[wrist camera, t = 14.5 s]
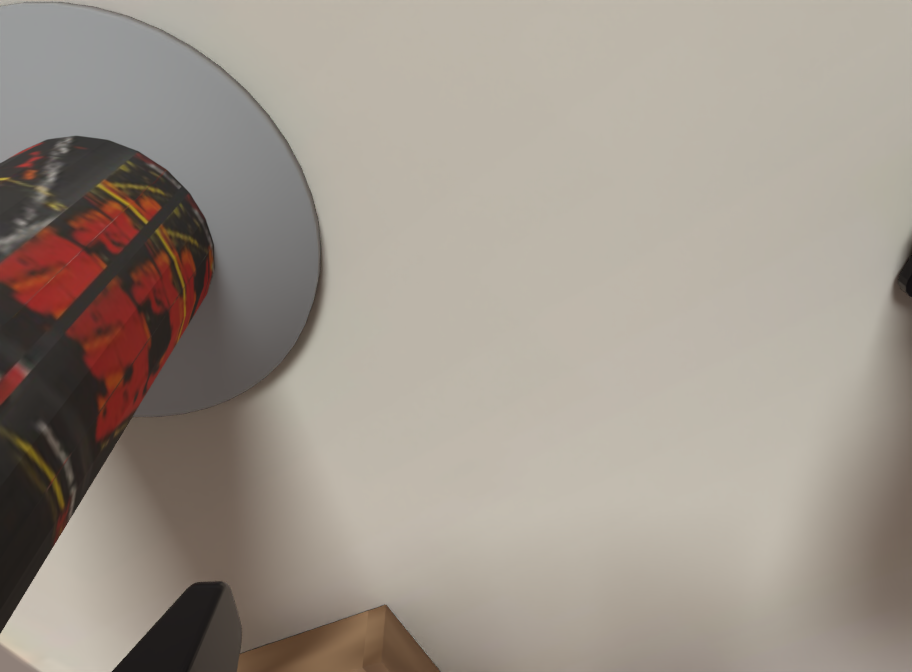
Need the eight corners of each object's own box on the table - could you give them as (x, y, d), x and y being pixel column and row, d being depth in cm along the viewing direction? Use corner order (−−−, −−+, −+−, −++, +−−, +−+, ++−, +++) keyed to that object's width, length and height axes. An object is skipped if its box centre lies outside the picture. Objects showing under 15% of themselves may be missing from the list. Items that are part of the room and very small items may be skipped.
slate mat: (344, 58, 18) (341, 62, 17) (302, 430, 24) (298, 441, 23) (-177, -50, 16) (-197, -48, 16) (-81, 374, 22) (-94, 385, 22)
